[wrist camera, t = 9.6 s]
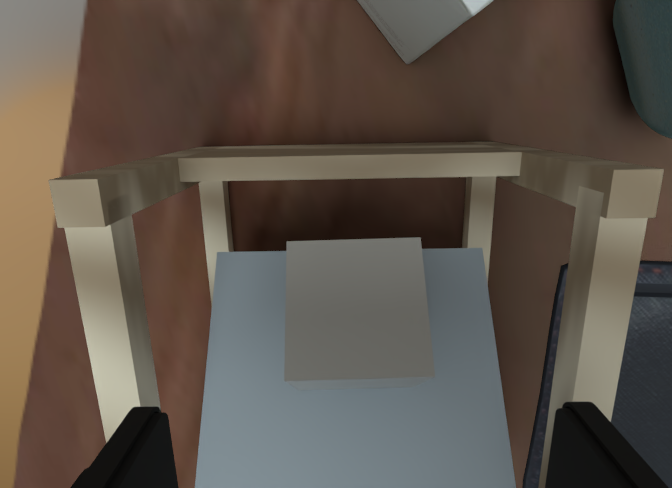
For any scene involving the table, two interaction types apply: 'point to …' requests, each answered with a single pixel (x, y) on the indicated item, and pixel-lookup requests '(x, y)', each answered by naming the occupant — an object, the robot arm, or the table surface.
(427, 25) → the supplement box
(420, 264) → the cube
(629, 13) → the flower pot
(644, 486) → the robot arm
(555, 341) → the wallet
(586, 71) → the table surface
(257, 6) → the table surface
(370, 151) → the frame
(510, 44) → the table surface
